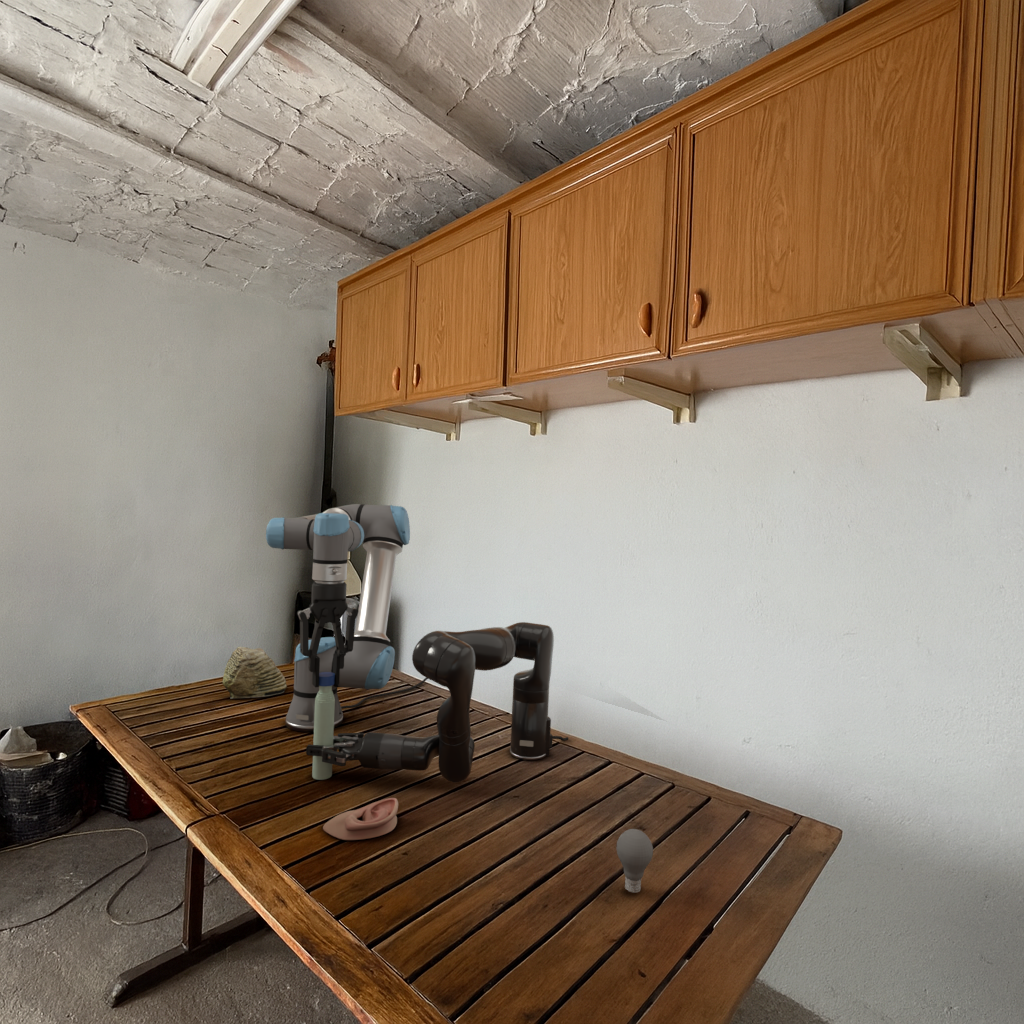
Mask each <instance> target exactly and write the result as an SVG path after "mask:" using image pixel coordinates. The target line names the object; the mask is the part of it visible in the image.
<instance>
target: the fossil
mask: <svg viewBox="0 0 1024 1024" xmlns="http://www.w3.org/2000/svg"><path fill="white" fill-rule="evenodd" d="M222 676H223V677H222V685H223V687H224V688H225V690H226V691H228V693H229V698H230V699H250V698H264V697H271V696H275V695H281V694H284V693H285V691H286V689H287V687H288V686H287V680H286V678H285V676H284V674H283V673H282V672H281V669H279V668H278V667H277V665H276V663H275V662H274V660H273V659H272V658H271V657H270V656H269V655H268V654H267V653H266V652H265V650H264V649H263V648H260V647H258V648H251V647H247V646H246V647H245V646H238V647H237V648H236V649H235V650H233V651H232V653H231V656H230V657H229V659H228V660H227V663H226V666H225V668H224V671H223V675H222Z"/></svg>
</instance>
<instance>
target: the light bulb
mask: <svg viewBox="0 0 1024 1024" xmlns="http://www.w3.org/2000/svg"><path fill="white" fill-rule="evenodd" d="M615 849H616V854H617V857H618V859H619V861H620V863H621V865H622V867H623V873H624V874H623V875H624V876H625V878H624V888H625V890H627V891H628V892H630V893H634V894H635V893H639V892H640V891H641V889H642V887H641V886H642V879H643V877H644V875H645V871H646V868H647V867H648V866H649V864H650V863H651V861H652V859H653V855H654V847H653V843H652V841H651V838H649V836H648V835H647V834H646V833H645V832H643V831H642V830H641V829H636V828H629V829H627V830H625V831H623V832H622V833H621V834H620V835H619V837H618V839H617V841H616V847H615Z"/></svg>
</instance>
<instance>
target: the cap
mask: <svg viewBox="0 0 1024 1024" xmlns="http://www.w3.org/2000/svg"><path fill="white" fill-rule="evenodd" d="M334 684H335V673H332V672H322V673H319V686H332V685H334Z"/></svg>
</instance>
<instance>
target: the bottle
mask: <svg viewBox="0 0 1024 1024" xmlns="http://www.w3.org/2000/svg"><path fill="white" fill-rule="evenodd" d="M334 709H335V697H334V695H333V691H332V686H319V691H318V693H317V696H316V698H315V714H314V732H313V740H312V741H313V744H312V745H323V746H331V745H333V736H335V735H334V733H335V728H334ZM329 759H330V758H329ZM311 771H312V772H311V778H313V780H317V781H323V780H327V779H330V778H331V777H332V776H333V764H330V763H325V762H322V756H312V770H311Z"/></svg>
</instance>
